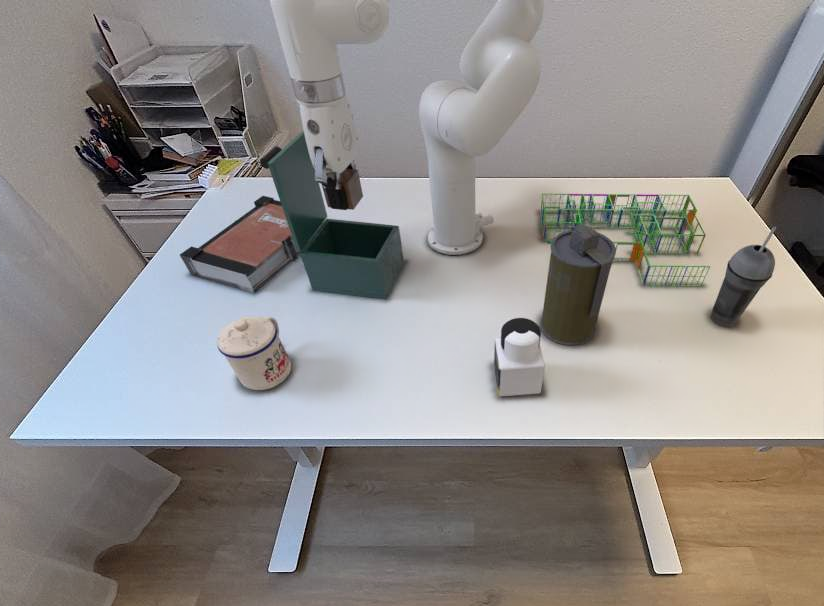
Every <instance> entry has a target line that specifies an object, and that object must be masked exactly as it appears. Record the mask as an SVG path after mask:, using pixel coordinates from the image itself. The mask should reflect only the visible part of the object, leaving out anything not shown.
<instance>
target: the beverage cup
mask: <svg viewBox="0 0 824 606" xmlns="http://www.w3.org/2000/svg"><path fill="white" fill-rule="evenodd" d="M776 230H777V227H776V226H772V228H771V229H770V231H769V233H768V234H767V236H766V238H765V239H764V241H763V243H762V245H761V244H750V245H746V246H744V247H742V248H740V249H738V250H737V251H736V252H735V253H734V254H732V256H731V258H730V259H729V260H728V261H727V264H726V269H725V275H724V278H723V280H722V283H721V286H720V288H719V291H718V294H717V296H716V299H715V302H714V305H713V307H712V311H711V313H710V320H711V321H712V322H713V323H714V324H716V325H718V326H719V327H725V328H730V327H733V326H734V325H735V324H736V322H737V321H738V320H739V319H740V318H741V316H742V315H743V314H744V312H745V311H746V310H747V308H748V307H749V305H751V302H752V301H753V300H754V298H755V297H756V296H757V294H758V293H759V291H760V290H761V289H762V288H763V287H764V286H765V284H766V283H767V282H768V281H769V280H770V279H771V278H772V277H773V274H774V272H775V271H774V270H775V266H776V258H775V256H774V253H773V252H772V251H771V250H770V249H769V248H768V247H767V245H768V243H769V241H770V239H771V238H772V236H773V235H774V233H775V231H776Z"/></svg>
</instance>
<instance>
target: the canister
mask: <svg viewBox="0 0 824 606" xmlns="http://www.w3.org/2000/svg"><path fill="white" fill-rule="evenodd" d="M573 226H574V225H573ZM563 231H564V230H563ZM550 241H551V244H550V256H549V263H548V271H547V279H546V286H545V294H544V300H543V308H542V315H541V318H540V321H539V328H540V330H541V333H543V335H544V336H545V337H546V338H547V339H548V340H550V341H552V342H555V343H557V344H559V345H564V346H578V345H582V344H585V343H586V342H588V341H590V340H591V339H592V338H593V337H594V335H595V333H596V331H597V323H598V320H599V314H600V311H601V307H602V304H603V300H604V295H605V291H606V289H607V284H608V280H609V276H610V272H611V268H612V265H613V262H614V261H613V259H614V258H616V254H617V250H616V244H615V245H614V243H613V242H614V241H613V240H611V239H610V238H609V237H608V236H606V235H605V234H603V233H600V232H599V231H597V230H596V229H593V228H592V227H590V226H588V225H587V224H586V225H585V223H582V224H580V225H577V226H574V227H572V228H571V227H569V229H568V230H565V231H564V232H559V233H558V234H557V235H556V234H555V237H554V236H553V238H552V239H551V240H550ZM614 260H615V259H614Z"/></svg>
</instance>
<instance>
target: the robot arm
mask: <svg viewBox="0 0 824 606" xmlns="http://www.w3.org/2000/svg"><path fill="white" fill-rule="evenodd" d="M544 2H545V1H544V0H497V1H496V2H495V4H494V6H493V7H492V9H491V10H490V11H489V13H488V14H487V16H486V17H485V18H484V20H483V21H482V22H481V24H480V25H479V27H478V28H477V29H476V31H475V33H473V35H472V36H471V37H470V39H469V41H468V43H466V45H465V47H464V49H463V50H462V52H461V55H460V59H459V72H460V75H461V77H462V79H463V80H464V81H465V82H466V83H467V85H468V86H470V87H472V88H473V89H474V90H476V92H474V91H473V90H471V89H469V88H467V87H465V86H463V85H461V84H459V83H456V82H454V81H451V80H445V79H444V80H443V79H442V80H441V79H440V80H436V81H433V82H432V83H430V84H429V85H428V86H427V87H426V88H425V89H424V91H423V92H422V94H421V96H420V100H419V104H418V105H419V106H418V118H419V123H420V129H421V132H422V136H423V140H424V144H425V150H426V158H427V166H428V178H429V189H430V190H429V191H430V201H431V214H432V223H433V225H432V226H433V227H432V229H430V230H429V232H428V235H427V243H428V245H429V246H430V248H431V249H433V250H434V251H436V252H438V253H440V254H444V255H448V256H458V255H459V256H460V255H466V254H469V253H471V252H473V251H475V250H477V249H478V248H479V247H480V246H481V245H482V243H483V239H484V236H483V232H482V230H481V229H483V228H484V227H485V226H489V225H491V224H493V223H494V222H495V219H494V216H493V215H492V214H488V215H486V216H484V215H483V214H482V213H481V212H479V213H476V211H477V209H476V208H477V207H476V204H477V203H476V158H479V157H483V156H485V155H487V154H488V153H489V152H491V151H492V150H493V149H494V148H495V147H496V146H497V145H498V143H499V142H500V141H501V140H502V138H503V137H504V136H505V134H506V133H507V132H508V131H509V129H510V128H511V127H512V126H513V124H514V123H515V121H516V120H517V119H518V117H519V116H520V115H521V113H522V112H523V111H524V109H526V107H527V106H528V104H529V102H530V101H531V100H532V98H533V97H534V94H535V92H536V90H537V88H538V86H539V85H538V84H539V81H540V76H541V68H542V67H541V65H542V64H541V59H540V55H539V54H538V52H537V50H536V49H535V47H534V46H533V45H532V44H531V42H532V41H533V39H534V38H535V36H536V34H537V33H538V32H539V30H540V27H541V24H542V21H543V16H544V6H545V5H544V4H545V3H544ZM269 5H270V8H271V12H272V15H273V18H274V23H275V26H276V30H277V33H278V37H279V41H280V44H281V48H282V52H283V55H284V60H285V63H286V67H287V70H288V74H289V76H290V77H289V78H290V80H291V85H292V88H293V92H294V95H295V99H296V102H297V104H299V111H300V118H301V124H302V129H303V132H304V134H305V139H306V143H307V148H308V151H309V155H310V159H311V162H312V164H313V167H314V169H315V180H316V181H317V182H319V184H320V185H321V186H322V185H323V187H324V189H326V192H327V196H328V200H329V204H330V207H329V208H330V209H332V210H338V211H339V210H340V211H347V210H349V209H348V204H347V199H346V195H345V191H344V187H341V181H340V173H342V172H343V171H344V170H345V169H354V170H357V165H356V162H355V158H356V157H357V156H358V155H359V153H360V150H361V147H360V142H359V141H360V140H359V137H358V132H357V128H356V124H355V120H354V117H353V112H352V110H351V105H350V102H349V99H348V96H347V94H346V88H345V84H344V79H343V74H342V68H341V63H340V59H339V58H340V57H339V53H338V49H337V47H338V46H337V45H369V44H372V43H374V42H377V41H379V39H380V38H382V37H383V35H384V34H385V32H386V31H387V29H388V27H389V21H390V9H389V4H388V0H269ZM327 166H328V167H327ZM328 173H332V174H334V180H333V179H332V178H331V177H328Z"/></svg>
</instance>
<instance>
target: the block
mask: <svg viewBox="0 0 824 606" xmlns="http://www.w3.org/2000/svg"><path fill="white" fill-rule="evenodd" d="M328 177H331V178H332V179H333V180H334V174H332V173H328ZM340 181H341V187H344V191H345V195H346V199H347V204H348V209H347V210H352V211H354V210H355V209H356V208H357V206H358V204H359V203H360V202H361V200H362V199H363V198H364V193H363V188H362V183H361V178H360V174H359V170H358V169H356V170H354V169H345V170H344V171H343V172H342V173H340ZM321 188H322V191H323V195H324V198H325V202H326V206H327V208H331V207H330V204H329V200H328V196H327V192H326V189H324V187H323V185H322V184H321Z"/></svg>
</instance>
